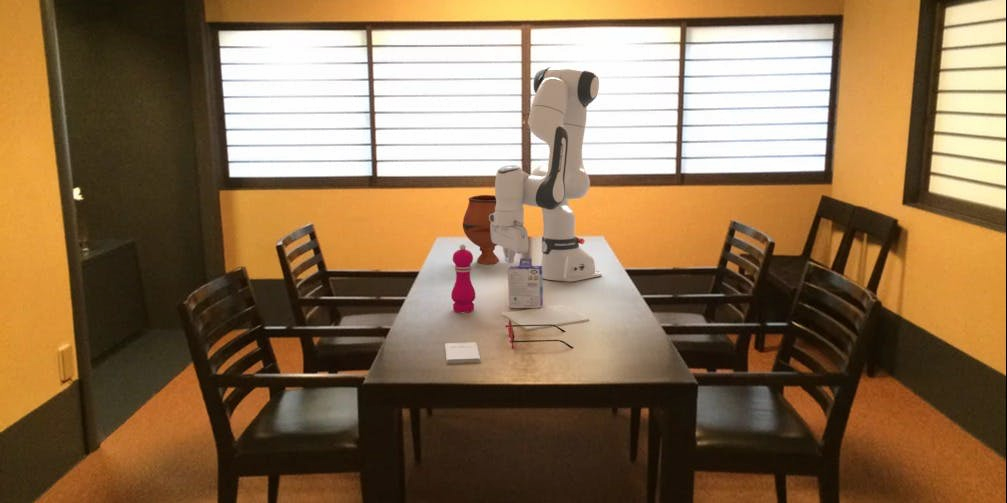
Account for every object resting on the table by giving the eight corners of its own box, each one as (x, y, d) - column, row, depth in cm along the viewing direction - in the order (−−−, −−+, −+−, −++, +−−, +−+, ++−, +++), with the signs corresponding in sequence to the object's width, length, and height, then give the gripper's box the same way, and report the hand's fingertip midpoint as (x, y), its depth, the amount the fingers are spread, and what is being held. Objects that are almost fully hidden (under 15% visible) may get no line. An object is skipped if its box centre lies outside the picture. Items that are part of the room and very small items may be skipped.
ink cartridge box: (543, 304, 230) (542, 257, 228) (541, 308, 225) (540, 261, 223) (512, 304, 232) (510, 257, 230) (508, 308, 227) (507, 260, 225)
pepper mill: (479, 307, 229) (478, 242, 224) (470, 314, 222) (469, 247, 218) (457, 305, 231) (456, 241, 227) (447, 311, 224) (446, 246, 220)
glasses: (505, 334, 205) (505, 316, 204) (565, 332, 206) (565, 315, 205) (509, 351, 191) (509, 332, 190) (573, 349, 192) (574, 331, 191)
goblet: (477, 269, 277) (476, 202, 272) (454, 259, 293) (453, 196, 288) (522, 263, 286) (522, 198, 281) (497, 254, 303) (497, 192, 297)
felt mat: (561, 306, 229) (561, 305, 229) (589, 320, 215) (589, 319, 215) (501, 314, 221) (501, 313, 221) (526, 330, 207) (526, 328, 207)
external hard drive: (446, 365, 182) (445, 348, 194) (480, 364, 183) (476, 347, 195) (446, 359, 181) (444, 342, 194) (480, 358, 182) (476, 341, 194)
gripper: (533, 223, 226) (533, 268, 229) (504, 213, 244) (504, 255, 247) (514, 224, 223) (514, 270, 226) (486, 214, 241) (487, 257, 244)
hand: (509, 262), depth 237 cm, fingers closed
